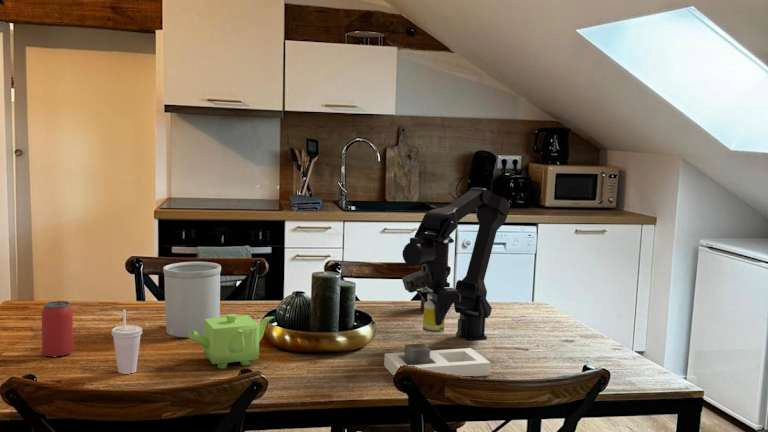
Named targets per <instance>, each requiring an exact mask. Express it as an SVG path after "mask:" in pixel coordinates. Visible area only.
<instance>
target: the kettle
mask: <svg viewBox="0 0 768 432" xmlns="http://www.w3.org/2000/svg"><path fill="white" fill-rule="evenodd" d="M274 318H275V316H267V317H264V318H262V320H261V321H260V323H258V322H257V321H255V320H254V319H253V318H252V317H251V316H250V315H248V314H246V315H245V314H244V315H237V314H235V313H230V314H226V315H225V316H222V317H221V316H220V318H209V319H204V336H202V335H201V334H199V333H197V332H196V331H192V332H191V333H190V335H189V337H188V339H190V340H191V341H193V342H195V343H197V344H198V345H200V346H201V347H203V354H204V355H205V357H207V359H208V360H209V361H210V363H211V364H212V365H217V367H216V368H218V369H226V368H228V364H229V363H236V362H237V363H239V362H240V365H241V366H244V365H247V366H250V365H251V362H250V361H255V360H260V359H259V358H260V342H261V340H262V339H263V337H264V333H265V330H266V327H267V324H268V323H269V322H270V321H271V320H272V319H274Z"/></svg>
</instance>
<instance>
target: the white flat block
mask: <svg viewBox="0 0 768 432" xmlns="http://www.w3.org/2000/svg"><path fill="white" fill-rule="evenodd" d="M404 354H405V351H404V352H388V353H386V352H385V353H384V362H383V365H384V367H385V368H386V370H388V372H389V374H391V375H392V376H393V375H394V374H395V373H396V371H397V370H398V368H399V367H400V366H403V365H407V364H406V363H405V362H404ZM491 365H492V363H491V361H489V360H488V359H487V358H485V357H484V356H482V355H481V354H480V353H479V352H477V351H475V350H474V349H472V348H470V347H468V348H467V347H466V348H454V349H453V348H451V349H449V348H448V349H437V350H434V349H433V350H430V363H429V364H419V365H408V366H415V367H418V368H421V369H425V370H430V371H435V372H441V373H446V374H454V375H462V376H474V377H485V376H490V375H491Z"/></svg>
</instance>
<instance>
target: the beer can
mask: <svg viewBox="0 0 768 432" xmlns="http://www.w3.org/2000/svg"><path fill="white" fill-rule="evenodd" d="M73 320H74V319H73V308H72V307H71V303H70V302H69V301H64V300H55V301H49V302H46V303H44V304H43V308H42V310H41V353H42V355H43V356H45V355H46V356H45V357H47V356H62V357H65V356H64V355H66V356H68V355H67V354H69V355H70V354H72V353H73V351H74V333H73V332H74V327H73V325H74V322H73ZM71 352H72V353H71Z"/></svg>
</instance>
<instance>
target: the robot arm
mask: <svg viewBox="0 0 768 432" xmlns="http://www.w3.org/2000/svg"><path fill="white" fill-rule="evenodd" d="M510 209H511V206H510V203H509V202H508V200H507V199H506V198H505V197H502V196H499V195H497V194H495V193H493V192H491V191H490V190H488V189H487V188H485V187H484V188H483V187H470V188H469V189H468V191H467V192H465V193H464V194H463V195H461V196H460V197H459V198H457V199H456V200H454V201H452V202H451V203H450V204H448V205H445V206H444V207H439V208H438V207H437V208H433V209H431V210H428V211H426V213H424V215H423V217H422V220H421V222H420V224H419V226H418V228H417V230H416V232H415V234H414V237H410V238H409V242H408V243H407V244H406V245H404V247H403V250H402V258H403V260H404V263H405V264H406V265H407V266H410V267H416V266H421V267H420V270H418V271H415V272H413V273H410V274H407V275H404V276H402V277H401V280H402V283H403V284H402V285H403V287H404V290H405V291H407V292H408V293H411V294H412V293H414V292H415V293H417V294H418V295H419V296H420V298H421V297H422V298H423V302H424V304H425V302H427V301H428V300H427V294H428V293H432V299H429V300H430V301H431V302H432V303H433V305H434V311H435V322H436V325H437V326H438V325H441V323H442V321H443V319H444V318H445V319H446V316H447V314H448V312H449V310H450V308H451V307H452V305H454V311H455V313H456V314H459V318H457V331H456V332H455V333H456V335H458V336H459V337H461V338H463V340H467V341H470V340H483V339H484V340H486V339H488V336H486V335H485V330H486V319H488V318H489V317H491V314H492V306H491V305H490V303H489V302H488V300H487V294H488V291H487V288H486V284H485V278H486V274H487V270H488V266H489V263H490V259H491V254H492V251H493V247H494V242H495V239H496V235H497V232H498V230H499V229H500V228H501V227H502V226H503V225H504V224H505V223H506V221H507V217H508V215H509V212H510ZM474 210H476V215H475V216H476V219H477V222H478V230H477V233H476V238H475V241H474V245H473V249H472V253H471V257H470V261H469V263H468V268H467V272H466V275H465V276H464V277H463V278H462V279H458V280H457V281H456V284H455V288H453V287H451V283H450V282H449V281H448V272H451V271H452V269H451V268H452V267H451V266H449V252H450V250H449V249H450V248H449V247H450V246H449V245H450V244H452V243H454V239H453V238H452V237H451V236H450V235H452V233H453V232H454V231H455V230H456V229H457V228H458V223H459V222H460V220H462V219H464V218H465V217H466V216H468V215H469V214H470V213H472V212H473V211H474Z"/></svg>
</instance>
